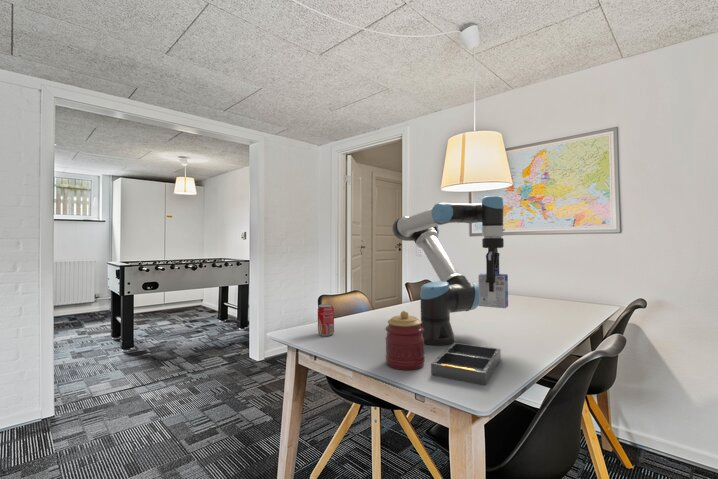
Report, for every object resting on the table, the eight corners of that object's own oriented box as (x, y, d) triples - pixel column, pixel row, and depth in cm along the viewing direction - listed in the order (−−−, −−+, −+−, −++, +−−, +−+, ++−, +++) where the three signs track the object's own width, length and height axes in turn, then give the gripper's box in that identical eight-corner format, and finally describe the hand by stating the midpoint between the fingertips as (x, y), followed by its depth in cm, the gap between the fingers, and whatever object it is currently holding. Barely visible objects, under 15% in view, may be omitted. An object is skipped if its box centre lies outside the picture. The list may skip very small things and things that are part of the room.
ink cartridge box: (508, 306, 135) (508, 267, 134) (506, 309, 130) (505, 269, 129) (481, 303, 140) (481, 266, 139) (478, 306, 135) (477, 268, 135)
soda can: (337, 333, 158) (337, 304, 158) (327, 337, 152) (327, 307, 152) (324, 331, 162) (324, 303, 162) (314, 335, 156) (314, 305, 156)
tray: (431, 375, 109) (431, 363, 109) (454, 351, 131) (454, 341, 131) (485, 385, 101) (485, 372, 101) (500, 358, 123) (500, 348, 123)
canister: (425, 371, 112) (424, 315, 112) (383, 369, 114) (383, 314, 114) (424, 358, 125) (423, 307, 125) (387, 356, 127) (386, 307, 127)
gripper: (499, 237, 125) (499, 303, 125) (507, 237, 140) (507, 296, 141) (477, 237, 129) (477, 302, 129) (487, 237, 144) (487, 294, 145)
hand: (493, 298), depth 135 cm, fingers closed on ink cartridge box, 5 cm apart
